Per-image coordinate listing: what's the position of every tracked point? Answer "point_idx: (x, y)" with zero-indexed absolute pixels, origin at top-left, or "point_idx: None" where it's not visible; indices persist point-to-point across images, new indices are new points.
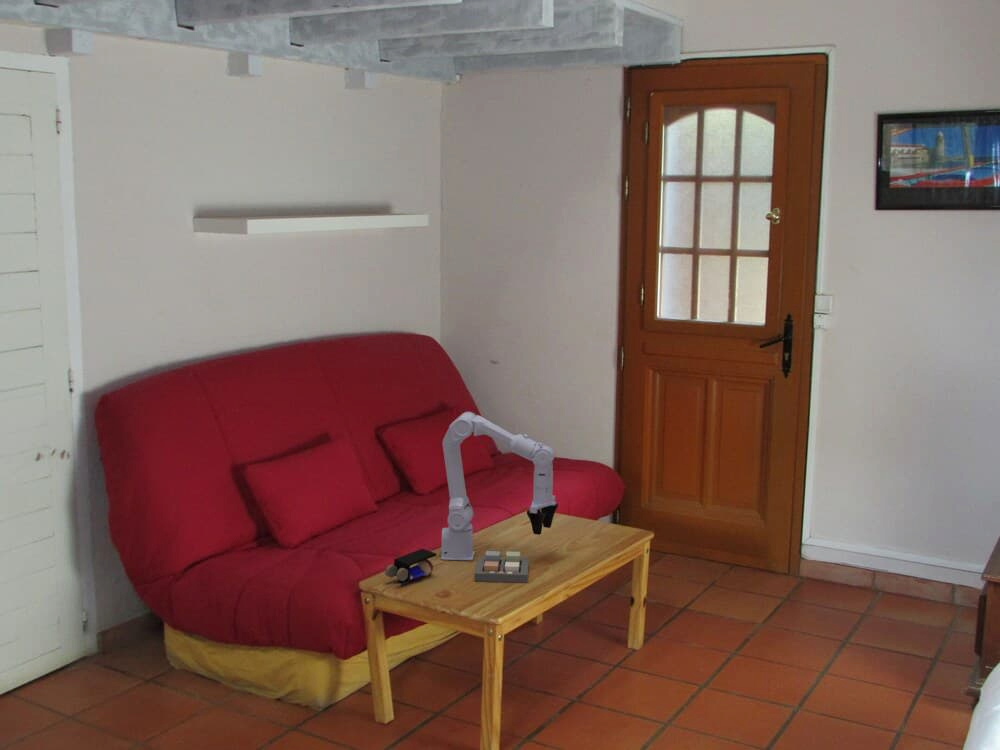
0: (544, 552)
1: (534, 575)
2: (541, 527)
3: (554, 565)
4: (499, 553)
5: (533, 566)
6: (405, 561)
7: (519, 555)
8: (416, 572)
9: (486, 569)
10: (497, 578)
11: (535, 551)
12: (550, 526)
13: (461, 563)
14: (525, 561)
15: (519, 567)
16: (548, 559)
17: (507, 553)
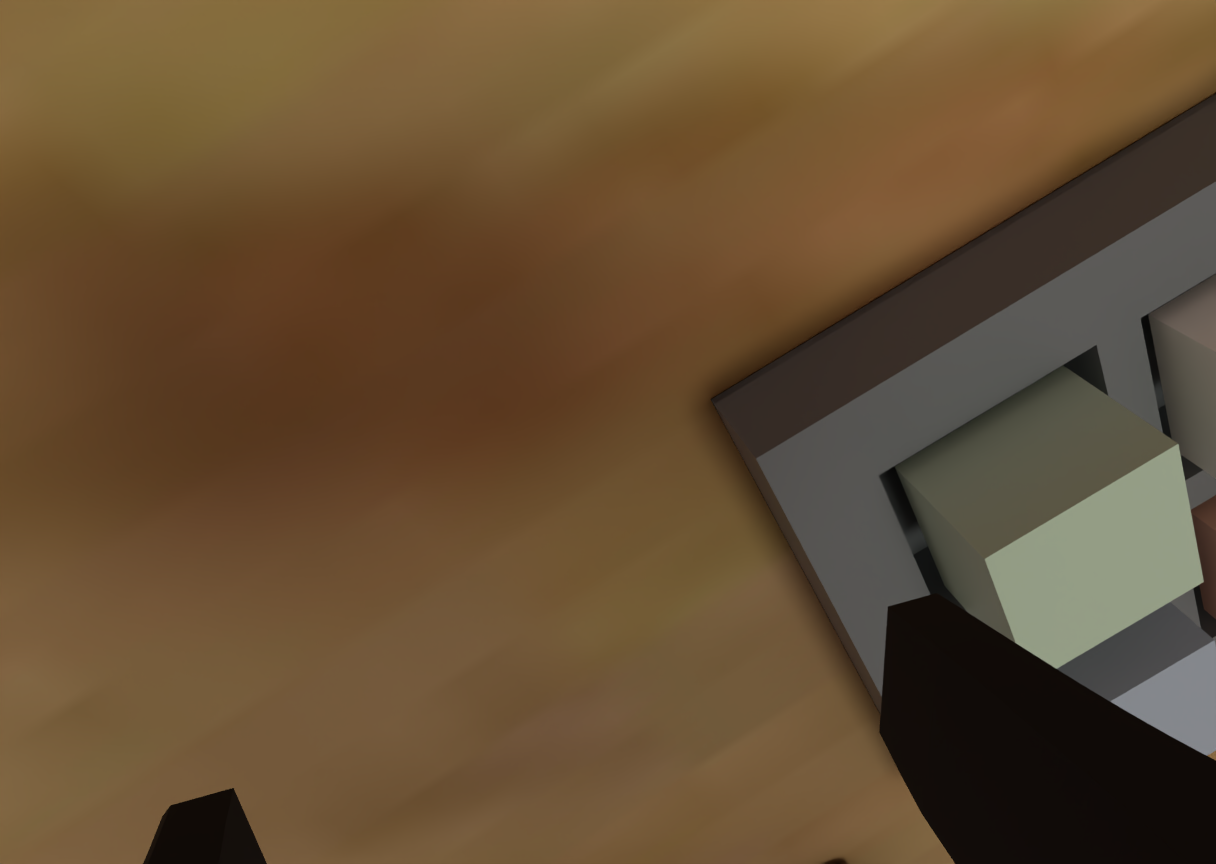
0: (9, 599)
1: (1031, 109)
2: (1080, 710)
3: (469, 109)
4: (1133, 687)
5: (691, 342)
6: None
7: (1151, 463)
8: None
9: None
10: None
11: (84, 701)
12: (206, 822)
13: (934, 861)
14: (911, 406)
15: (1136, 330)
16: (263, 362)
17: (1110, 626)
